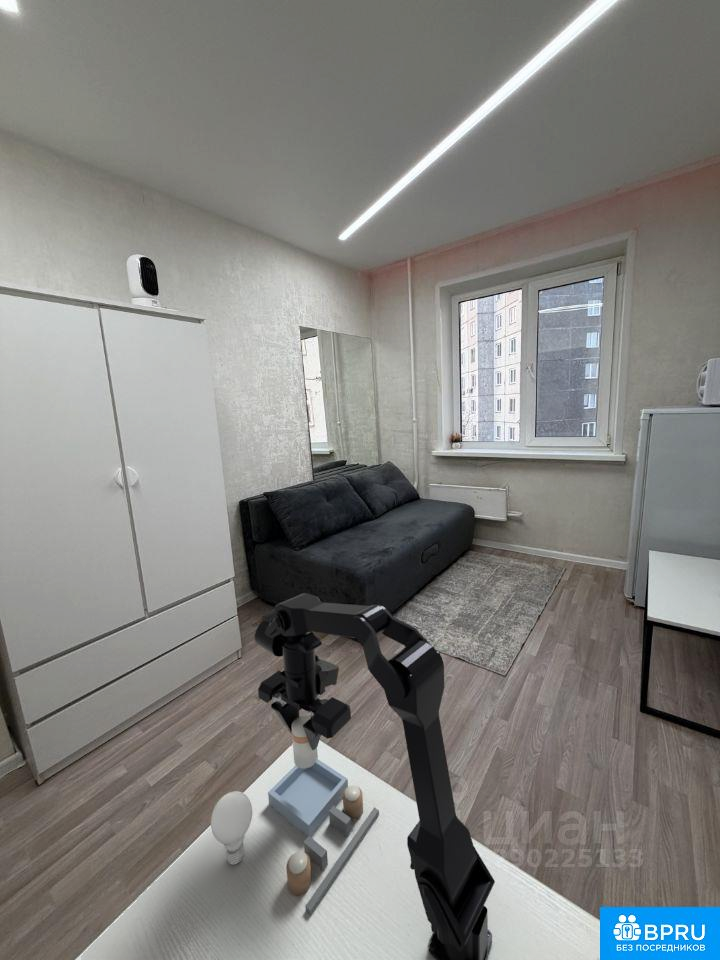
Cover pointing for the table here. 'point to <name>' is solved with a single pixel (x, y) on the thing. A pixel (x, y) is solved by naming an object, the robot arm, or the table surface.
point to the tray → (308, 795)
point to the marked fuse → (302, 744)
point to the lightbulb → (232, 823)
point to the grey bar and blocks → (320, 854)
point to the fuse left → (298, 873)
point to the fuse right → (353, 802)
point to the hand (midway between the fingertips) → (305, 742)
